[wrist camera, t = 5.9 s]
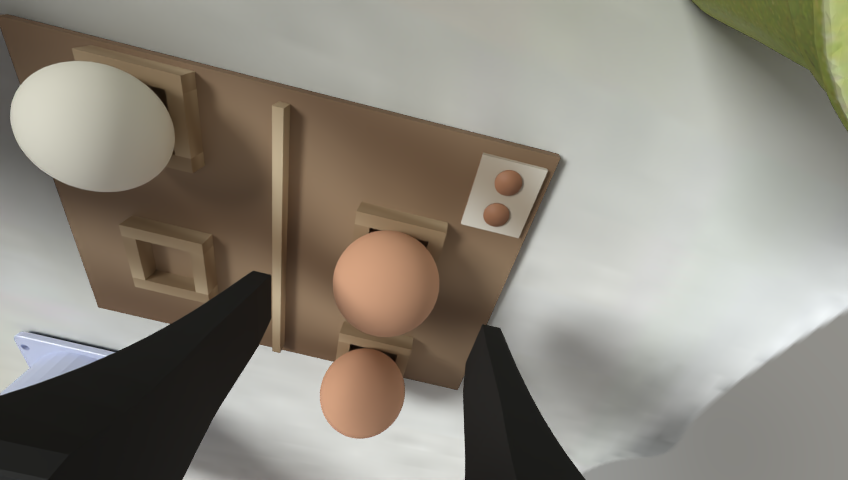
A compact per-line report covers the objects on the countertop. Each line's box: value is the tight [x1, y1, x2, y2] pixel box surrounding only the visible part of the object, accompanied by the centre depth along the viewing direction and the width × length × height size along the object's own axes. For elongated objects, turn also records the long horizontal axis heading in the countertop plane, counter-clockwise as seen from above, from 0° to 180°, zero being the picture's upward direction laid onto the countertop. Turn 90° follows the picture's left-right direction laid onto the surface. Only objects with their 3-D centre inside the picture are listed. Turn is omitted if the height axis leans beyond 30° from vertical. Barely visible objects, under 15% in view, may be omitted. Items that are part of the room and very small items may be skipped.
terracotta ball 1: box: [333, 230, 439, 337], centre depth 15 cm, size 4×4×4 cm
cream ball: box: [10, 61, 175, 192], centre depth 12 cm, size 4×4×4 cm
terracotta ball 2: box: [320, 348, 405, 439], centre depth 19 cm, size 4×4×4 cm
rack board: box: [0, 14, 560, 390], centre depth 17 cm, size 14×20×1 cm
